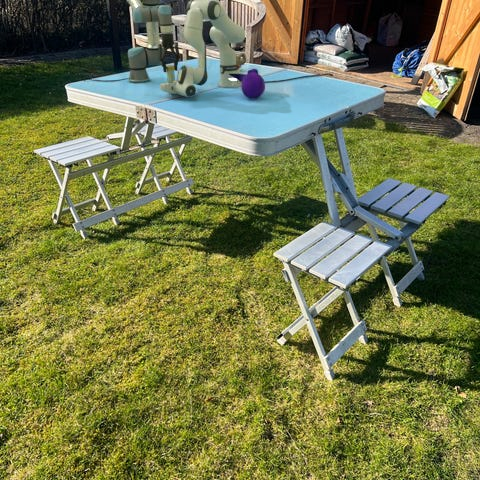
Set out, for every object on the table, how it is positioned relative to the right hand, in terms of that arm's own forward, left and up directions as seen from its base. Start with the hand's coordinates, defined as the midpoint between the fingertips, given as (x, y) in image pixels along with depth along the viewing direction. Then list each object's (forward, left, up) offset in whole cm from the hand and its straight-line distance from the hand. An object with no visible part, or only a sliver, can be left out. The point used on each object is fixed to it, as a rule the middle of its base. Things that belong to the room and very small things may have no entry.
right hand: (171, 83), depth 298 cm
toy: (-37, +39, -7) cm, 54 cm away
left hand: (0, +1, +8) cm, 8 cm away
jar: (0, +1, -7) cm, 7 cm away
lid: (0, +1, +11) cm, 11 cm away
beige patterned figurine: (-77, -46, -7) cm, 90 cm away
